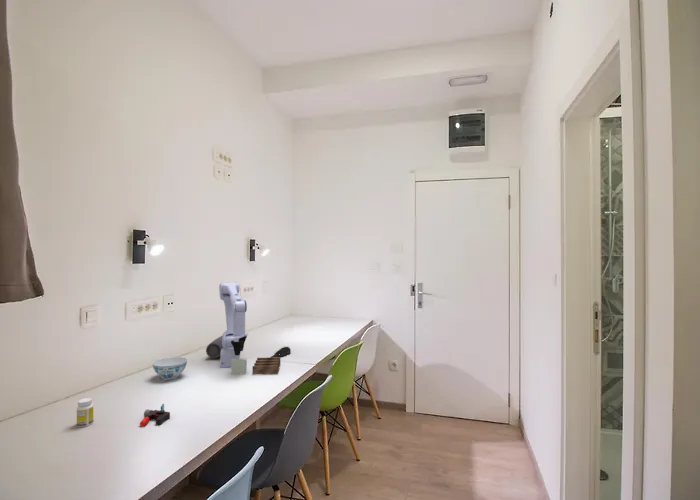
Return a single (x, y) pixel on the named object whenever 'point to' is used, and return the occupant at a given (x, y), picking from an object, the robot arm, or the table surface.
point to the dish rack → (266, 365)
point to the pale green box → (238, 366)
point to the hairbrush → (282, 352)
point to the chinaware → (169, 367)
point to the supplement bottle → (84, 412)
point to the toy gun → (155, 416)
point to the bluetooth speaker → (214, 348)
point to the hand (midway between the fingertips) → (239, 353)
